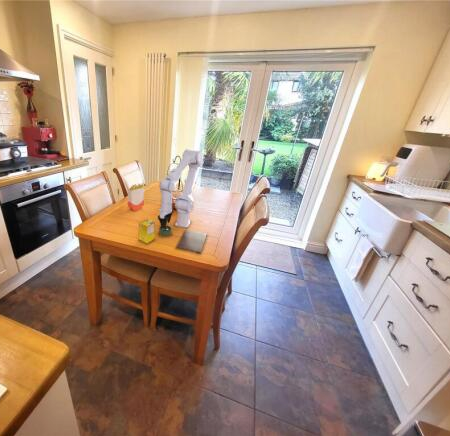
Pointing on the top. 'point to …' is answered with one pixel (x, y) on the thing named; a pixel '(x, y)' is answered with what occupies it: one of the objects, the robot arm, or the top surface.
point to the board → (192, 241)
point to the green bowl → (165, 233)
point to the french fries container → (136, 197)
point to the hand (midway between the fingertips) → (165, 225)
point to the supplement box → (146, 231)
